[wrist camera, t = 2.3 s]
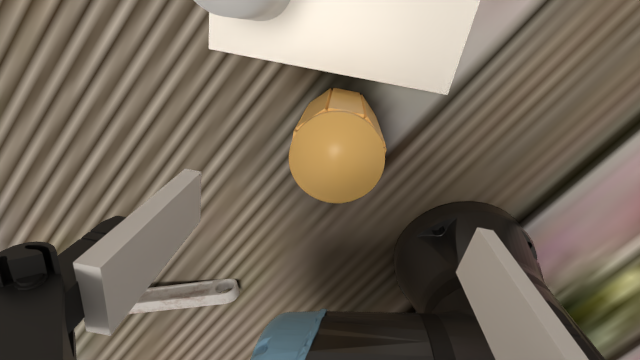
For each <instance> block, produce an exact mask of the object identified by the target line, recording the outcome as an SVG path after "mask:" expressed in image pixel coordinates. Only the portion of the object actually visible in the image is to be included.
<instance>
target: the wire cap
mask: <svg viewBox="0 0 640 360" xmlns="http://www.w3.org/2000/svg"><path fill="white" fill-rule="evenodd" d="M385 153H386V144H385V141H384V138H383V135H382V132H381V129H380V127H379V124H378V121H377V118H376V116H375V114H374V112H373V111H372V109H371V108H370V106H369V104H368V103H367V101H366V100H365V98H364V97H363V95H360V93H359V92H354V91H348V90H343V89H338V88H333V91H332V90H331V88H330V89H329V90H327V91H326V92H325V93H323V94H322V95H320V96H319V97H317V98H316V99H315V100H313V101H312V102H310V103H309V104H308V106H307V108H306V110H305V111H304V113H303V115H302V117H301V119H300V121H299V122H298V124H297V126H296V128H295V130H294V133H293V140H292V143H291V146H290V151H289V165H290V170H291V173H292V175H293V177H294V179H295V181H296V182H297V184H298V185H299V186H300V187H301V188H302V189H303V190H304V191H305V192H306V193H307V194H309V195H310V196H312V197H314V198H316V199H318V200H321V201H325V202H329V203H345V202H350V201H353V200H356V199H358V198H361V197H362V196H364V195H366V194H367V193H368V192H369V191H371V190H372V189H373V188H374V186H375V185H376V184H377V183H378V181H379V179H380V177H381V175H382V173H383V170H384V165H385Z"/></svg>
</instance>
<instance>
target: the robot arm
mask: <svg viewBox="0 0 640 360" xmlns="http://www.w3.org/2000/svg"><path fill="white" fill-rule="evenodd" d="M200 211H201V172H200V171H195V170H190V169H184V170H183V171H182V172H181V173H179V174H178V175H177V176H176V177H175V178H173V179H172V180H171V181H170V182H169V183H167V184H166V185H165V186H164V187H163V188H161V189H160V190H159V191H158V192H157V193H155V194H154V195H153V196H152V197H151V198H149V199H148V200H147V201H146V202H145V203H143V204H142V205H141V206H140V207H139V208H137V209H136V210H135V211H134V212H133V213H131V214H130V215H129V216H128V217H122V216H115V217H112V218H110V219H108V220H105V221H103V222H101V223H100V224H99V225H97V226H96V227H95V228H93V229H92V230H91V232H88V233H87V234H86V235H84V236H83V237H82V238H81V239H79V240H78V241H76V242H75V243H74V244H72V245H71V246H70V247H69V248H67V249H66V250H65V251H63V252H62V253H61V254H59V255H58V256H57V252H56V249H55V247H54V246H53V245H51V244H49V243H45V242H28V243H23V244H19V245H15V246H12V247H10V248H8V249H5V250H3V251H1V252H0V360H76V341H75V332H74V328H75V327H76V326H77V325H78V324H79V323H80V322H81V320H82V319H83V318H84V321H85V326H86V331H89V332H94V333H100V334H105V335H110V336H111V335H112V333H113V332H114V331H115V329H116V328H117V327H118V326H119V324H120V323H121V322H122V320H123V319H124V318H125V317H126V315H127V314H128V313H129V312H130V310H131V309H132V308H133V306H134V305H135V304H136V303H137V301H138V300H139V299H140V297H141V296H142V295H143V294H144V292H145V291H146V290H147V289H148V287H149V286H150V285H151V283H152V282H153V281H154V280H155V278H156V277H157V276H158V274H159V273H160V272H161V271H162V269H163V268H164V267H165V266H166V264H167V263H168V262H169V260H170V259H171V258H172V257H173V255H174V254H175V253H176V251H177V250H178V249H179V248H180V246H181V245H182V244H183V243H184V241H185V240H186V239H187V237H188V236H189V235H190V234H191V232H192V231H193V230H194V228H195V227H196V226H197V225H198V223H199V222H200ZM393 261H394V268H395V273H396V278H397V282H398V284H399V287H400V289H401V291H402V292H403V294H404V295H405V296H406V298H407V299H408V300H409V301H410V303H411V304H412V306H413V307H414V309H415V310H416V312H417V313H380V312H331V311H327V309H321V310H320V311H311V312H287V313H283V314H280V315H278V316H277V317H275V318H274V319H273V320H272V321H271V322H270V323H269V324H268V325H267V326H266V328H265V329H264V331H263V332H262V334H261V336H260V338H259V340H258V342H257V344H256V347H255V349H254V351H253V354H252V357H251V359H250V360H605V359H604V357H603V356H602V355H601V354H600V352H599V351H598V350H597V349H596V347H595V346H594V345H593V344H592V342H591V341H590V340H589V339H588V337H587V336H586V335H585V334H584V333H583V331H582V330H581V329H580V328H579V326H578V325H577V324H576V323H575V321H574V320H573V319H572V318H571V316H570V315H569V314H568V313H567V311H566V310H565V309H564V308H563V307H562V305H561V304H560V303H559V302H558V300H557V299H556V298H555V297H554V295H553V294H552V293H551V292H550V290H549V289H548V288H547V286H546V285H545V283H544V279H543V276H542V272H541V269H540V266H539V263H538V261H537V255H536V251H535V247H534V245H533V242H532V240H531V239H530V237H529V235H528V234H527V232H526V231H525V230H524V229H523V228H522V227H521V226H520V224H519V223H518V222H517V221H516V220H515V219H514V218H513V217H512V216H511V215H509V214H508V213H507V212H505V211H503V210H501V209H499V208H497V207H495V206H492V205H488V204H484V203H478V202H458V203H451V204H447V205H443V206H440V207H437V208H434V209H432V210H430V211H428V212H426V213H424V214H423V215H421V216H419V217H418V218H417V219H415V220H414V221H413V222H412V223H411V224H410V225H409V226H408V227H407V228H406V229H405V230H404V231H403V233H402V234H401V236H400V238H399V239H398V241H397V244H396V247H395V250H394V259H393Z"/></svg>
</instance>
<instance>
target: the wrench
mask: <svg viewBox="0 0 640 360" xmlns="http://www.w3.org/2000/svg"><path fill="white" fill-rule="evenodd" d="M230 288H233V289H232V290H230V291H228V292H226V293H221V292H222V291H224V290H226V289H230ZM239 294H240V291H239V287H238V284H237V281H236V280H235V279H219V280H210V281H203V282H195V283H187V284H178V285H170V286H161V287H153V288H148V289H147V290H146V291H145V292H144V294H143V295H142V296H141V297H140V299H139V300H138V301H137V303H136V304H135V305H134V306H133V308H132V309H131V310H130V312H129V313H128V314H134V313H143V312H152V311H162V310H171V309H181V308H190V307H199V306H209V305H218V304H226V303H230V302H232V301H234V300H235V299H236V298H237V297H238V296H239ZM82 320H84V318H83V319H82Z"/></svg>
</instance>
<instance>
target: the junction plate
mask: <svg viewBox="0 0 640 360" xmlns="http://www.w3.org/2000/svg"><path fill="white" fill-rule="evenodd" d="M194 1H195V2H196V3H197V4H198V5H199V6H201V7H202V8H203V9H205V10H207V11H208V12H209V49H212V50H217V51H222V52H228V53H233V54H238V55H243V56H248V57H253V58H259V59H264V60H269V61H274V62H279V63H284V64H290V65H295V66H300V67H305V68H310V69H316V70H321V71H326V72H331V73H336V74H341V75H347V76H352V77H357V78H362V79H367V80H372V81H378V82H383V83H388V84H393V85H398V86H404V87H409V88H414V89H419V90H424V91H429V92H435V93H440V94H445V95H448V92H449V89H450V86H451V84H452V81H453V78H454V75H455V72H456V69H457V66H458V63H459V60H460V57H461V55H462V52H463V49H464V46H465V43H466V40H467V37H468V34H469V31H470V28H471V25H472V23H473V20H474V17H475V14H476V11H477V8H478V5H479V2H480V0H194Z"/></svg>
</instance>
